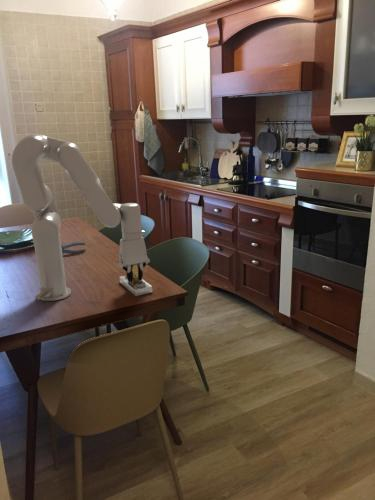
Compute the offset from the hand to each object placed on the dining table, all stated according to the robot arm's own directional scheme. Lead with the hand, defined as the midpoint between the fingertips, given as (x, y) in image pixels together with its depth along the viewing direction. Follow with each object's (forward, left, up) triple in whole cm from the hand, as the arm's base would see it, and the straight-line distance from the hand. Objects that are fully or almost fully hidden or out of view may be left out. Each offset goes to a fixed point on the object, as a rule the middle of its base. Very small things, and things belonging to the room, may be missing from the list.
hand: (135, 279), depth 173 cm
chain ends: (0, 0, -3) cm, 3 cm away
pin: (0, 0, -1) cm, 1 cm away
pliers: (+38, +49, -4) cm, 62 cm away
